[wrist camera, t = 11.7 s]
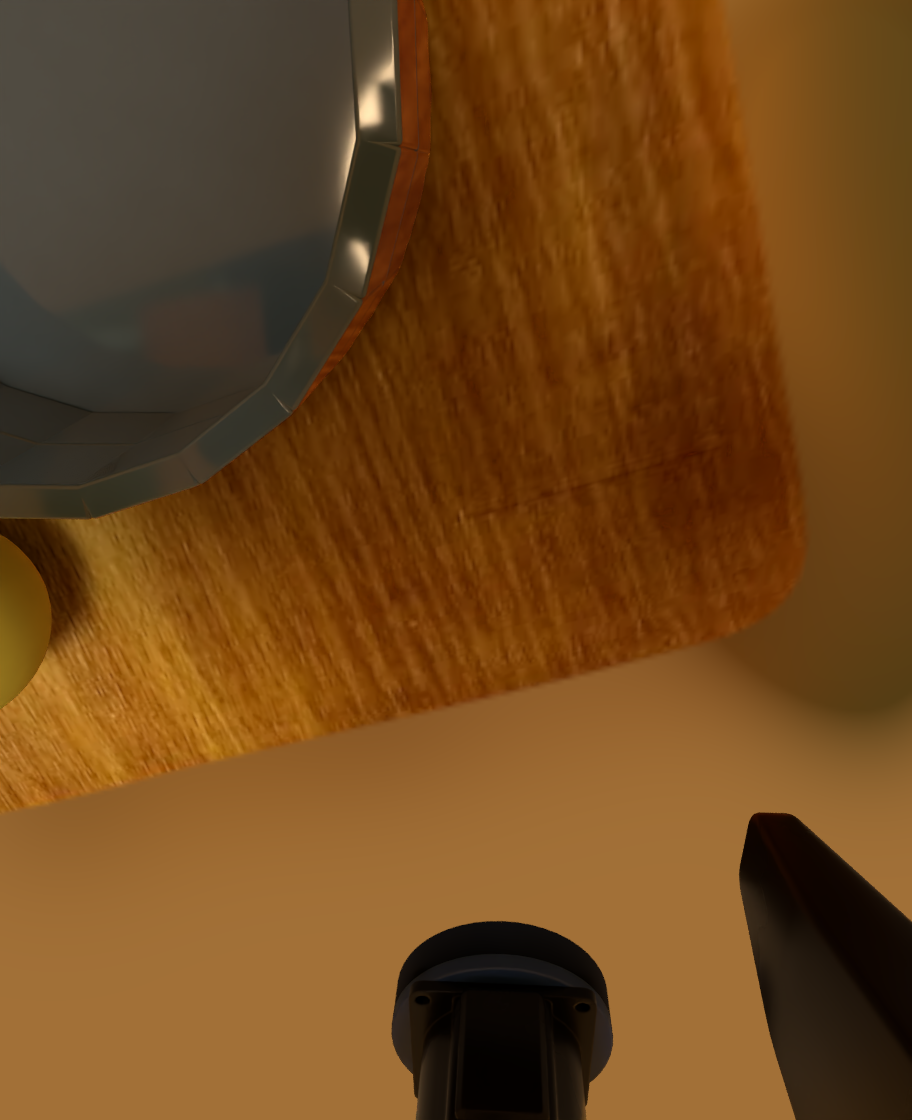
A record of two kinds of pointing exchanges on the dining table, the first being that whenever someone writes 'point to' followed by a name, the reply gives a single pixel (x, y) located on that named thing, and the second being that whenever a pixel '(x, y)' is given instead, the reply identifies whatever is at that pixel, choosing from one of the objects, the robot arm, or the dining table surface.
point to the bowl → (190, 228)
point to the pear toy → (21, 620)
